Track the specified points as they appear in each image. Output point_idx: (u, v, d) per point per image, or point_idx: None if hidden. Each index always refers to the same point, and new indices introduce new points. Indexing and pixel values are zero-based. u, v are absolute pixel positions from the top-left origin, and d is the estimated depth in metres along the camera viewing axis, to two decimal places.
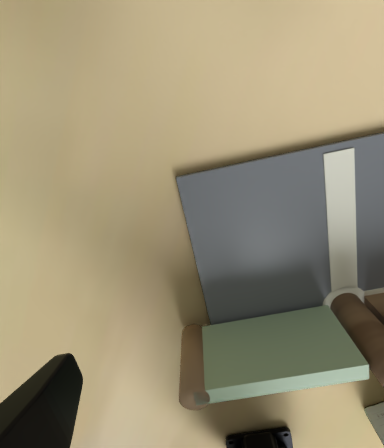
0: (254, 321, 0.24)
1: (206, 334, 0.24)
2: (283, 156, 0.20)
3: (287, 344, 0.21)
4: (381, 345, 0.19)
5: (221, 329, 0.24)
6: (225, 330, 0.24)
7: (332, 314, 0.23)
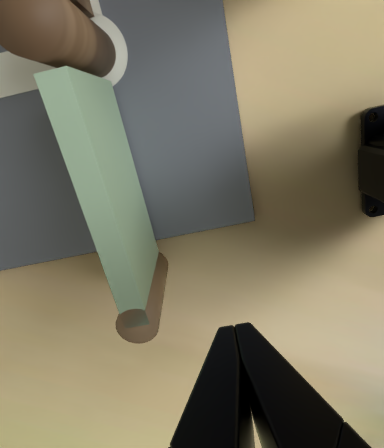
0: None
1: None
2: None
3: None
4: None
5: None
6: None
7: None
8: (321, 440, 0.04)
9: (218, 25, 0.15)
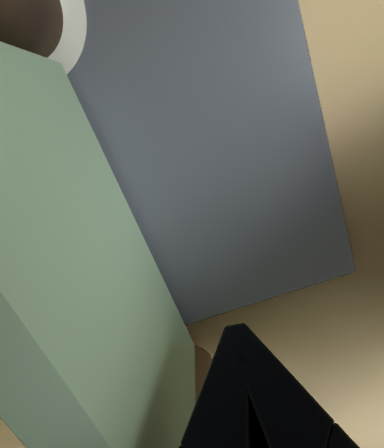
0: None
1: None
2: None
3: None
4: None
5: None
6: None
7: None
8: (311, 441, 0.04)
9: None
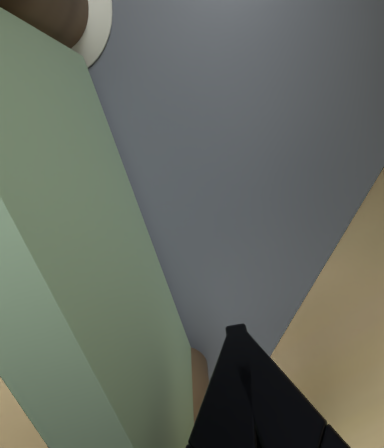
0: None
1: None
2: None
3: None
4: None
5: None
6: None
7: None
8: (304, 442, 0.04)
9: None
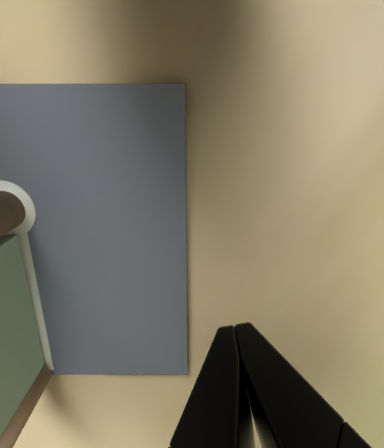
0: None
1: None
2: (89, 373, 0.23)
3: None
4: None
5: None
6: None
7: None
8: (321, 440, 0.04)
9: None
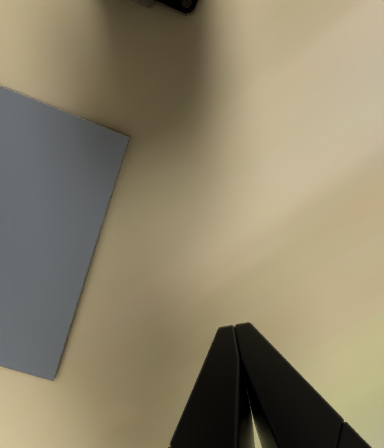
0: None
1: None
2: None
3: None
4: None
5: None
6: None
7: None
8: (321, 440, 0.04)
9: None
